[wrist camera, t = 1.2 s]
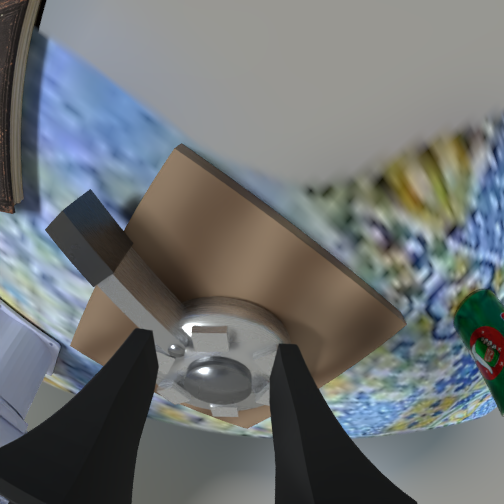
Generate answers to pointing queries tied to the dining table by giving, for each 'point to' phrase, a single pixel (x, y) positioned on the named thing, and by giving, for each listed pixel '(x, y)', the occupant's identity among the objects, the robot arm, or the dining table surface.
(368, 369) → the dining table surface
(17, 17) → the hardcover book
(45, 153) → the dining table surface
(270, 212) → the walnut board
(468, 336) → the soda can
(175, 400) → the silver mechanical part
